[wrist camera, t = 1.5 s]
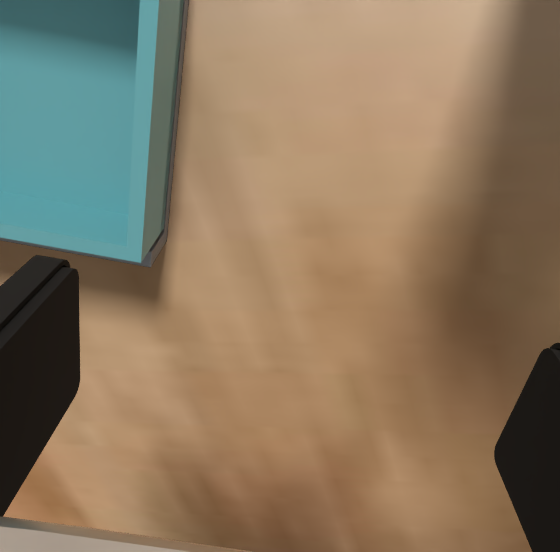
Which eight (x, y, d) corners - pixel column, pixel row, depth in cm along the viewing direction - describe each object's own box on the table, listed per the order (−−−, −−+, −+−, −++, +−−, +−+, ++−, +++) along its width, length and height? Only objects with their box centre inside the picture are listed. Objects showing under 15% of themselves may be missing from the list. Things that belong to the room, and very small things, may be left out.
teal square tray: (-103, -102, 25) (-192, -128, 20) (187, -41, 25) (162, -53, 21) (-68, 185, 31) (-129, 214, 27) (163, 228, 32) (140, 262, 27)
